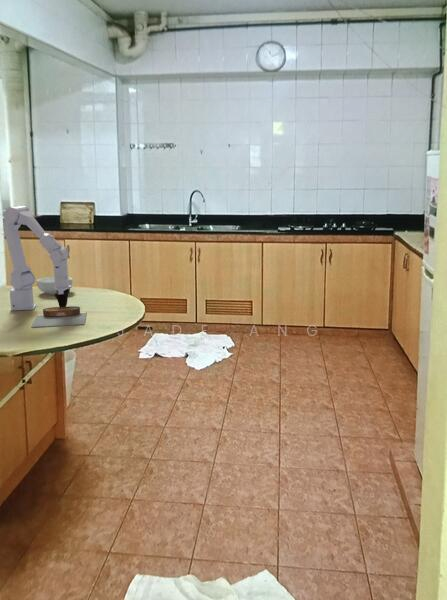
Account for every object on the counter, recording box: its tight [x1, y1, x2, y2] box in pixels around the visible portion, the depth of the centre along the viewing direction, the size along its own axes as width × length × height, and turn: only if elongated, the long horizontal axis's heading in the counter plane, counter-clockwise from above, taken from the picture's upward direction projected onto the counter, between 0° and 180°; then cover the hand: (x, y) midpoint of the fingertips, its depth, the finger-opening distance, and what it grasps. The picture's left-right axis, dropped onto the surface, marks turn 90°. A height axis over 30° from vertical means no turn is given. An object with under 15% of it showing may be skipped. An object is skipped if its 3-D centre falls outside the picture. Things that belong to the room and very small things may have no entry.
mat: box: [30, 312, 88, 329], centre depth 241 cm, size 20×18×1 cm
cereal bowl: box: [36, 276, 73, 296], centre depth 293 cm, size 17×17×7 cm
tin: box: [42, 306, 81, 317], centre depth 249 cm, size 15×3×8 cm
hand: (63, 307), depth 257 cm, fingers open, 6 cm apart
